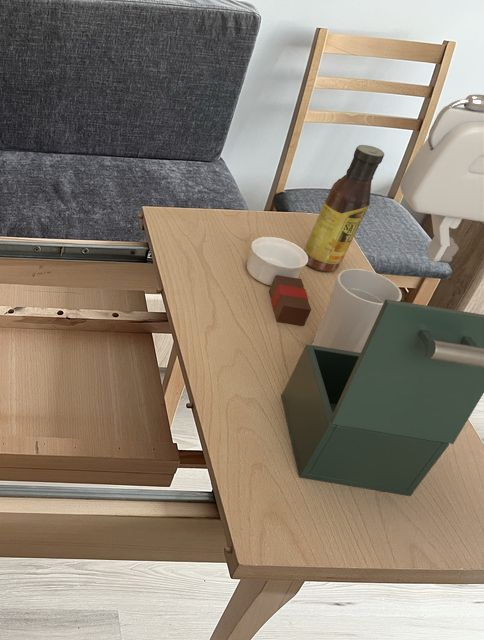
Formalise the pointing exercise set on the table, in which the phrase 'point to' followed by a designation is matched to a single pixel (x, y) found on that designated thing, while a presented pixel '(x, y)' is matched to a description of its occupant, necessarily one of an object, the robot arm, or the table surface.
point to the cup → (354, 309)
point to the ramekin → (275, 259)
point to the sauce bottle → (343, 211)
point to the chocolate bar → (289, 300)
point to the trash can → (347, 432)
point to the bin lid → (416, 373)
